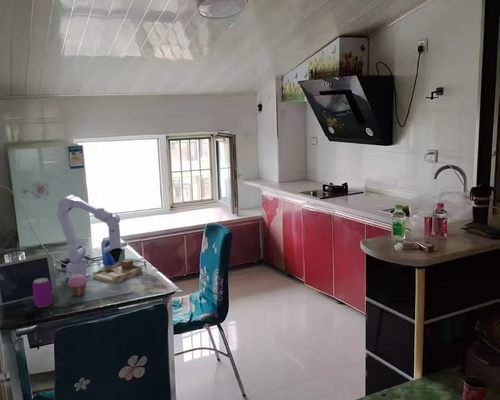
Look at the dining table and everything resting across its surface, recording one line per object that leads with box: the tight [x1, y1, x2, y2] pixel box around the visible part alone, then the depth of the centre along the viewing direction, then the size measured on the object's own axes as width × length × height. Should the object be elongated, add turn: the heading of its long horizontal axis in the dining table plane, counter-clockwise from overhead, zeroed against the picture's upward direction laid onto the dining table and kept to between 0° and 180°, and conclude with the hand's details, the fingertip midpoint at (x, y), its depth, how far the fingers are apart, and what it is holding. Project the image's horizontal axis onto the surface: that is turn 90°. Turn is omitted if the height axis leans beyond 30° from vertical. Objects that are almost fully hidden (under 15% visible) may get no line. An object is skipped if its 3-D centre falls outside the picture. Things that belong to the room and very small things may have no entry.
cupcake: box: [67, 274, 88, 297], centre depth 244 cm, size 9×9×10 cm
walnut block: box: [120, 258, 134, 270], centre depth 275 cm, size 4×4×4 cm
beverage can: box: [32, 277, 53, 308], centre depth 232 cm, size 8×8×12 cm
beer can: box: [101, 236, 116, 268], centre depth 286 cm, size 8×8×16 cm
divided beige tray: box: [92, 262, 143, 285], centre depth 270 cm, size 20×16×4 cm
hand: (116, 261), depth 269 cm, fingers closed
